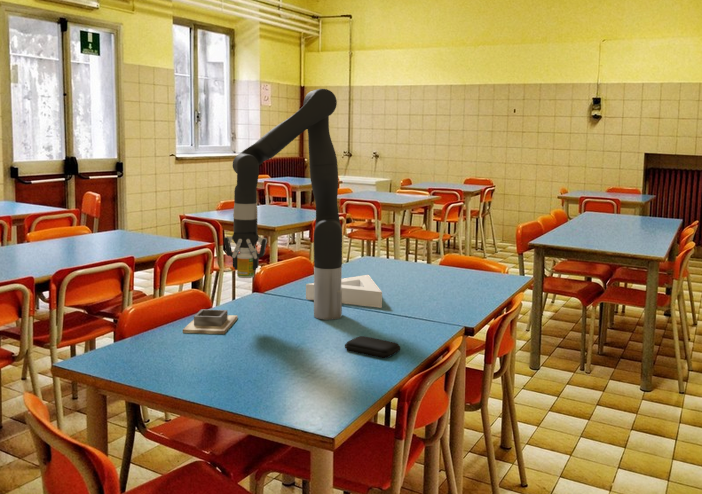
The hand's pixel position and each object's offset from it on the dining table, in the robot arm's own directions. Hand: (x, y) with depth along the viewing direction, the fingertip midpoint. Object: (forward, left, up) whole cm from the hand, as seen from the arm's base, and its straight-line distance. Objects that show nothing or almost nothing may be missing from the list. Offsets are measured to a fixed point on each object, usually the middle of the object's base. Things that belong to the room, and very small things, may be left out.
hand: (245, 269), depth 222 cm
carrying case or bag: (-42, +24, -18) cm, 52 cm away
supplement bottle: (0, 0, -3) cm, 3 cm away
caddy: (+10, +4, -18) cm, 21 cm away
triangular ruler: (-33, -42, -19) cm, 57 cm away
